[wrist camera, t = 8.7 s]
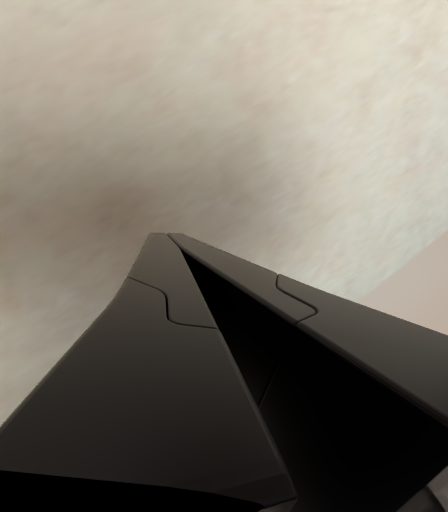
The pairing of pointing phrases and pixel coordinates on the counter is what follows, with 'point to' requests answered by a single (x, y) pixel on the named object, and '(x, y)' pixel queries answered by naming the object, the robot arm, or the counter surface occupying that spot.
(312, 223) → the counter surface
